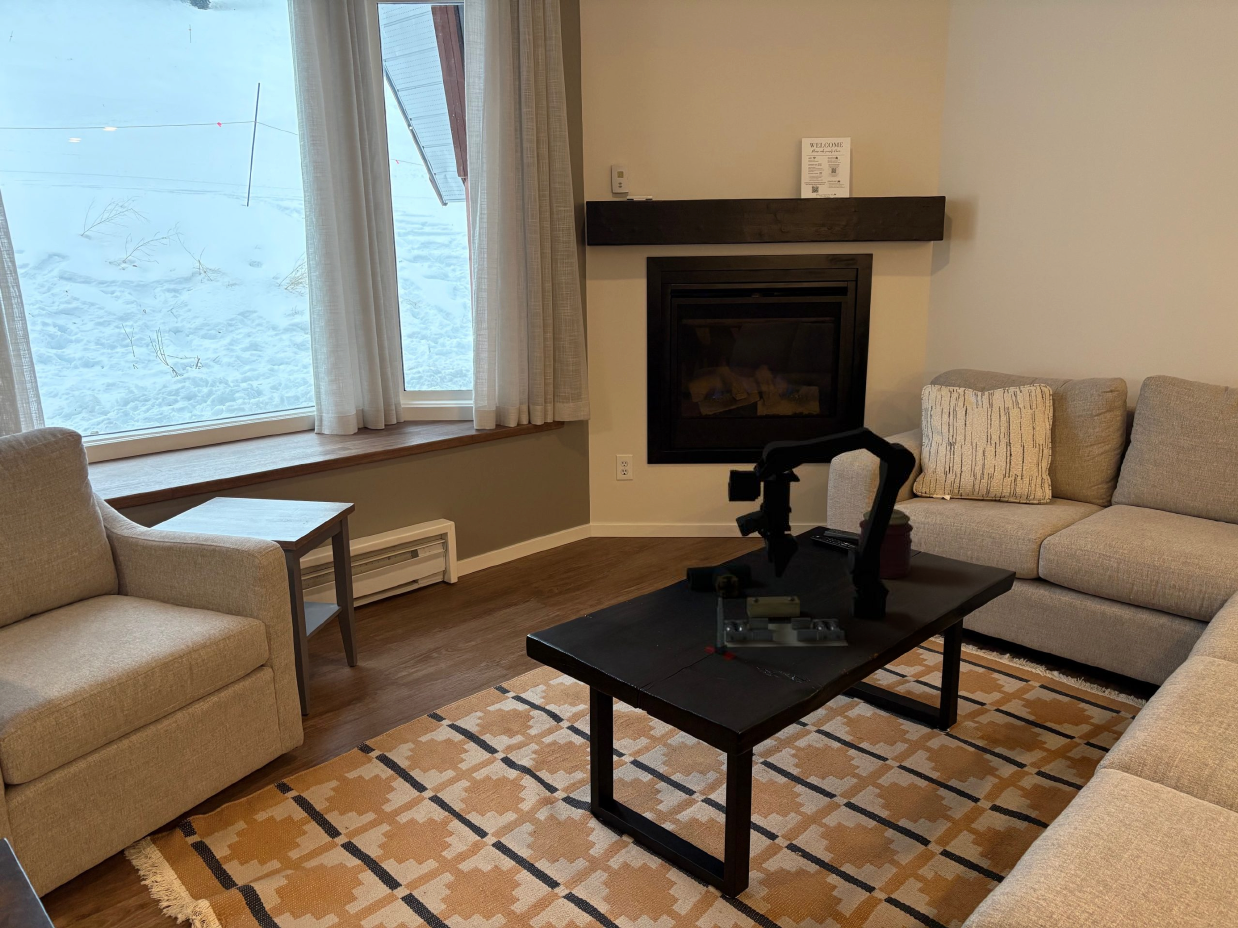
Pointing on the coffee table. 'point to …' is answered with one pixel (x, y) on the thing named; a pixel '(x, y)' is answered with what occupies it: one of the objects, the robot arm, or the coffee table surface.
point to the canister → (894, 545)
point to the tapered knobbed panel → (773, 607)
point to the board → (783, 639)
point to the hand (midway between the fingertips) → (774, 569)
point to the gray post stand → (720, 635)
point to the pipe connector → (720, 578)
